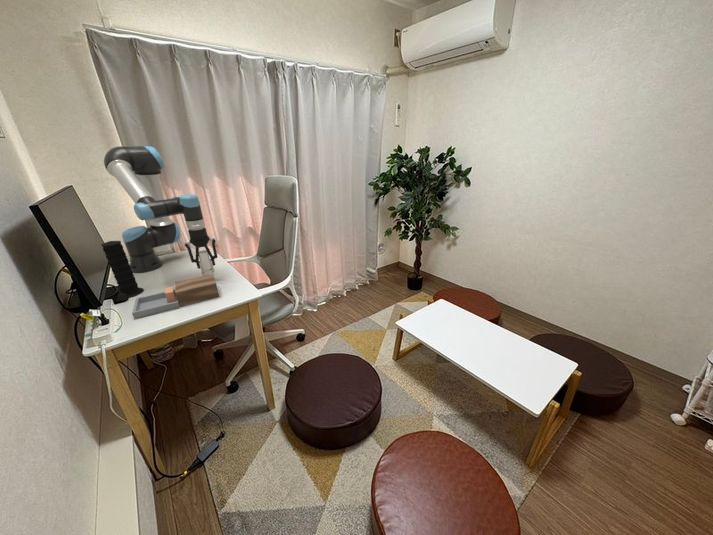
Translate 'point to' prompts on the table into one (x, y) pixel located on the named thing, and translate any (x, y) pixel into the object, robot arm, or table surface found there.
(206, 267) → the tube
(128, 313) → the table surface
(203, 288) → the walnut ledge
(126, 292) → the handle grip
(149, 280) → the table surface
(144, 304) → the box
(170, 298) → the terracotta tile
